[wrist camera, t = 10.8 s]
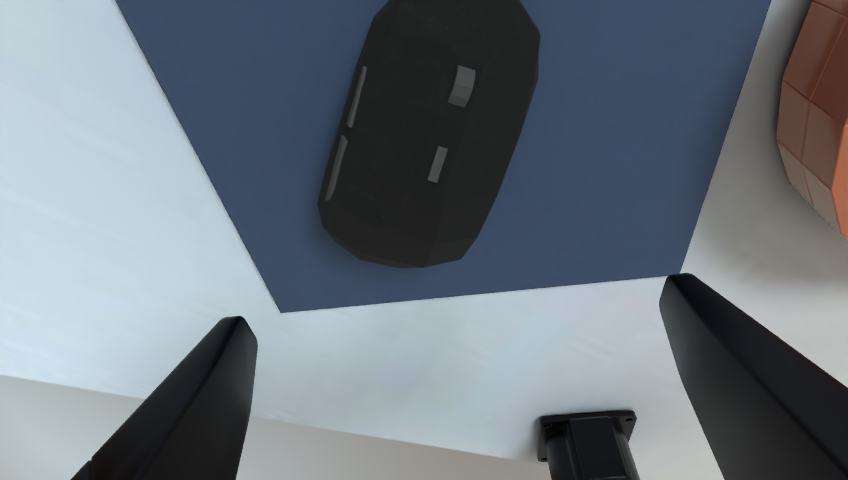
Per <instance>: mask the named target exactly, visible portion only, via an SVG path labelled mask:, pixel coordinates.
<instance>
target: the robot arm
mask: <svg viewBox="0 0 848 480" xmlns="http://www.w3.org/2000/svg"><path fill="white" fill-rule="evenodd" d="M659 307H660V312H661V316H662V319H663V322H664V326H665V329H666V332H667V336H668V339H669V342H670V345H671V349H672V352H673V355H674V359H675V362H676V365H677V368H678V372H679V375H680V378H681V380H682V383H683V385H684V388H685V390H686V392H687V395H688V397H689V399H690V401H691V404H692V406H693V408H694V411H695V413H696V415H697V417H698V420H699V422H700V424H701V427H702V429H703V431H704V434H705V436H706V438H707V440H708V443H709V445H710V447H711V450H712V452H713V454H714V456H715V459H716V461H717V463H718V466H719V468H720V470H721V472H722V475H723V477H724V479H725V480H848V388H847V387H846V386H844V385H843V384H842V383H840V382H839V381H838V380H836V379H835V378H833V377H832V376H831V375H829V374H828V373H827V372H825V371H824V370H822V369H821V368H820V367H818V366H817V365H816V364H814V363H813V362H812V361H810V360H809V359H807V358H806V357H805V356H803V355H802V354H801V353H799V352H798V351H796V350H795V349H794V348H792V347H791V346H790V345H788V344H787V343H786V342H784V341H783V340H781V339H780V338H779V337H777V336H776V335H775V334H773V333H772V332H770V331H769V330H768V329H766V328H765V327H764V326H762V325H761V324H760V323H758V322H757V321H755V320H754V319H753V318H751V317H750V316H749V315H747V314H746V313H744V312H743V311H742V310H740V309H739V308H738V307H736V306H735V305H734V304H732V303H731V302H729V301H728V300H727V299H725V298H724V297H723V296H721V295H720V294H719V293H717V292H716V291H714V290H713V289H712V288H710V287H709V286H708V285H706V284H705V283H703V282H702V281H701V280H699V279H698V278H697V277H695V276H694V275H692V274H689V273H682V274H672V275H669V276H668V277H667V279H666V281H665V284H664V288H663V291H662V294H661V297H660V301H659ZM257 349H258V344H257V339H256V337H255V335H254V333H253V332H252V330H251V328H250V327H249V325H248V324H247V322H246V320H245V319H244V318H243V317H241V316H233V317H225V318H223V319H221V320H220V321H219V322H218V323H217V324H216V325H215V326H214V327H213V328H212V329H211V330H210V332H209V333H208V334H207V335H206V336H205V337H204V338H203V339H202V340H201V341H200V342H199V343H198V344H197V345H196V346H195V348H194V349H193V350H192V351H191V352H190V353H189V354H188V355H187V356H186V357H185V358H184V359H183V360H182V361H181V362H180V364H179V365H178V366H177V367H176V368H175V369H174V370H173V371H172V372H171V373H170V374H169V375H168V376H167V377H166V379H165V380H164V381H163V382H162V383H161V384H160V385H159V386H158V387H157V388H156V389H155V390H154V391H153V392H152V393H151V395H150V396H149V397H148V398H147V399H146V400H145V401H144V402H143V403H142V404H141V405H140V406H139V407H138V408H137V409H136V411H135V412H134V413H133V414H132V415H131V416H130V417H129V418H128V419H127V420H126V421H125V423H123V424H122V426H121V427H120V428H119V429H118V430H117V431H116V432H115V433H114V434H113V435H112V436H111V437H110V438H109V439H108V440H107V442H106V443H105V444H104V445H103V446H102V447H101V448H100V449H99V450H98V451H97V452H96V453H95V454H94V456H93V457H92V459H91V461H88V462H87V463H86V464H85V465H84V466H83V467H82V468H81V469H80V470H79V471H78V472H77V473H76V474H75V476H74V477H73V478H72V479H71V480H236V475H237V471H238V466H239V462H240V457H241V453H242V449H243V444H244V440H245V435H246V431H247V426H248V422H249V416H250V411H251V404H252V395H253V386H254V377H255V367H256V358H257ZM636 419H637V418H636V415H635V412H634V411H615V412H602V413H589V414H575V415H562V416H549V417H543V418H541V419H540V420H539V432H538V447H537V457H538V461H540V462H548V464H549V469H550V474H551V478H552V480H640V478H639V475H638V472H637V469H636V466H635V463H634V460H633V457H632V454H631V451H630V448H629V445H628V442H629V439H630V436H631V434H632V431H633V428H634V425H635V422H636Z"/></svg>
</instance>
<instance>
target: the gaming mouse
mask: <svg viewBox="0 0 848 480" xmlns="http://www.w3.org/2000/svg"><path fill="white" fill-rule="evenodd" d="M540 38H541V36H540V33H539V30H538V28H537V26H536V25H535V24H534V22H533V20H532V19H531V17H530V16H529V14H528V13H527V11H526V9H525V8H524V6H523V5H522V3H521V2H520V0H389V1H388V2H387V3H386V4H385V5H384V6H383V8H382V9H381V10H380V11H379V12H378V13H377V14H376V15H375V16H374V18H373V20H372V23H371V26H370V29H369V31H368V34H367V37H366V40H365V43H364V46H363V49H362V51H361V54H360V57H359V60H358V63H357V66H356V69H355V72H354V76H353V79H352V83H351V86H350V90H349V93H348V97H347V100H346V104H345V108H344V111H343V115H342V118H341V121H340V124H339V127H338V129H337V132H336V135H335V138H334V141H333V144H332V147H331V151H330V154H329V158H328V162H327V166H326V170H325V173H324V177H323V181H322V185H321V190H320V194H319V198H318V202H317V205H318V209H319V214H320V218H321V222H322V226H323V228H324V229H325V230H326V232H327V233H328V234H329V235H330V236H331V237H332V239H333V240H334V241H335V242H336V243H338V244H339V245H340V246H342V247H343V248H344V249H346V250H347V251H349V252H350V253H351V254H353V255H354V256H355V257H357V258H358V259H360V260H364V261H369V262H373V263H377V264H382V265H386V266H391V267H395V268H425V267H430V266H434V265H439V264H443V263H447V262H452V261H456V260H460V259H462V258H463V256H464V255H465V254H466V252H467V251H468V249H469V248H470V247H471V245H472V244H473V243H474V241H475V240H476V239H477V237H478V235H479V233H480V231H481V229H482V227H483V225H484V223H485V221H486V219H487V216H488V214H489V212H490V210H491V208H492V206H493V204H494V202H495V200H496V198H497V195H498V193H499V190H500V187H501V185H502V182H503V179H504V177H505V174H506V171H507V169H508V166H509V164H510V161H511V158H512V156H513V153H514V150H515V148H516V145H517V142H518V140H519V137H520V134H521V132H522V129H523V126H524V122H525V119H526V116H527V113H528V110H529V107H530V103H531V100H532V97H533V94H534V91H535V88H536V84H537V81H538V78H539V45H540Z"/></svg>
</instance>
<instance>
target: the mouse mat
mask: <svg viewBox="0 0 848 480" xmlns="http://www.w3.org/2000/svg"><path fill="white" fill-rule="evenodd" d="M115 1H116V2H117V4H118V6H119V8H120V10H121V12H122V14H123V16H124V18H125V19H126V21H127V23H128V25H129V27H130V29H131V31H132V33H133V35H134V36H135V38H136V40H137V42H138V44H139V46H140V48H141V50H142V52H143V53H144V55H145V57H146V59H147V61H148V63H149V65H150V67H151V69H152V70H153V72H154V74H155V76H156V78H157V80H158V82H159V84H160V86H161V87H162V89H163V91H164V93H165V95H166V97H167V99H168V101H169V103H170V104H171V106H172V108H173V110H174V112H175V114H176V116H177V118H178V120H179V121H180V123H181V125H182V127H183V129H184V131H185V133H186V135H187V137H188V138H189V140H190V142H191V144H192V146H193V148H194V150H195V152H196V154H197V155H198V157H199V159H200V161H201V163H202V165H203V167H204V169H205V171H206V172H207V174H208V176H209V178H210V180H211V182H212V184H213V186H214V188H215V189H216V191H217V193H218V195H219V197H220V199H221V201H222V203H223V205H224V206H225V208H226V210H227V212H228V214H229V216H230V218H231V220H232V222H233V223H234V225H235V227H236V229H237V231H238V233H239V235H240V237H241V239H242V240H243V242H244V244H245V246H246V248H247V250H248V252H249V254H250V256H251V258H252V259H253V261H254V263H255V265H256V267H257V269H258V271H259V273H260V275H261V276H262V278H263V280H264V282H265V284H266V286H267V288H268V290H269V292H270V293H271V295H272V297H273V299H274V301H275V303H276V305H277V307H278V309H279V310H280V312H281V313H286V312H296V311H307V310H317V309H327V308H338V307H348V306H359V305H369V304H379V303H390V302H400V301H411V300H421V299H431V298H442V297H452V296H463V295H473V294H483V293H494V292H504V291H515V290H525V289H535V288H546V287H556V286H567V285H577V284H587V283H598V282H608V281H619V280H629V279H639V278H650V277H660V276H669V275H672V274H680V271H681V268H682V265H683V262H684V259H685V256H686V253H687V250H688V247H689V244H690V241H691V238H692V235H693V232H694V229H695V226H696V223H697V220H698V217H699V214H700V211H701V208H702V205H703V202H704V199H705V196H706V193H707V190H708V187H709V184H710V181H711V178H712V175H713V172H714V169H715V166H716V163H717V160H718V157H719V154H720V151H721V148H722V145H723V142H724V139H725V137H726V134H727V131H728V128H729V125H730V122H731V119H732V116H733V113H734V110H735V107H736V104H737V101H738V98H739V95H740V92H741V89H742V86H743V83H744V80H745V77H746V74H747V71H748V68H749V65H750V62H751V59H752V56H753V53H754V50H755V47H756V44H757V41H758V38H759V35H760V32H761V29H762V26H763V23H764V20H765V17H766V14H767V11H768V8H769V5H770V2H771V0H520V2H521V3H522V5H523V6H524V8H525V9H526V11H527V13H528V14H529V16H530V17H531V19H532V20H533V22H534V24H535V25H536V26H537V28H538V30H539V33H540V36H541V38H540V45H539V78H538V81H537V84H536V88H535V91H534V94H533V97H532V100H531V103H530V107H529V110H528V113H527V116H526V119H525V122H524V126H523V129H522V132H521V134H520V137H519V140H518V142H517V145H516V148H515V150H514V153H513V156H512V158H511V161H510V164H509V166H508V169H507V171H506V174H505V177H504V179H503V182H502V185H501V187H500V190H499V193H498V195H497V198H496V200H495V202H494V204H493V206H492V208H491V210H490V212H489V214H488V216H487V219H486V221H485V223H484V225H483V227H482V229H481V231H480V233H479V235H478V237H477V239H476V240H475V241H474V243H473V244H472V245H471V247H470V248H469V249H468V251H467V252H466V254H465V255H464V256H463V258H462V259H460V260H456V261H452V262H447V263H443V264H439V265H434V266H430V267H425V268H395V267H391V266H386V265H382V264H377V263H373V262H369V261H364V260H360V259H358V258H357V257H355V256H354V255H353V254H351V253H350V252H349V251H347V250H346V249H344V248H343V247H342V246H340V245H339V244H338V243H336V242H335V241H334V240H333V239H332V237H331V236H330V235H329V234H328V233H327V232H326V230H325V229H324V228H323V226H322V222H321V218H320V214H319V209H318V205H317V202H318V198H319V194H320V190H321V185H322V181H323V177H324V173H325V170H326V166H327V162H328V158H329V154H330V151H331V147H332V144H333V141H334V138H335V135H336V132H337V129H338V127H339V124H340V121H341V118H342V115H343V111H344V108H345V104H346V100H347V97H348V93H349V90H350V86H351V83H352V79H353V76H354V72H355V69H356V66H357V63H358V60H359V57H360V54H361V51H362V49H363V46H364V43H365V40H366V37H367V34H368V31H369V29H370V26H371V23H372V20H373V18H374V16H375V15H376V14H377V13H378V12H379V11H380V10H381V9H382V8H383V6H384V5H385V4H386V3H387V2H388V1H389V0H115Z"/></svg>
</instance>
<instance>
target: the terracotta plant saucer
mask: <svg viewBox="0 0 848 480" xmlns="http://www.w3.org/2000/svg"><path fill="white" fill-rule="evenodd" d="M777 144H778V147H779V150H780V154H781V157H782V160H783V164H784V167H785V170H786V174H787V177H788V180H789V183H790V184H791V185H792V186H793V187H794V188H795V189H796V190H797V191H798V193H799V194H800V195H801V196H802V197H803V198H804V199H805V200H806V201H807V202H808V203H809V204H810V205H811V206H812V207H813V208H814V209H815V210H816V211H817V212H818V213H819V214H820V215H821V216H822V217H823V218H824V219H825V220H826V221H827V222H828V223H829V224H830V225H831V226H832V228H833V229H834V230H835V231H836V232H837V233H838V234H839V235H840V236H841V237H842V238H843V239H844V240H845V241H846V242H847V243H848V0H815V1H813V2H812V3H811V6H810V8H809V11H808V13H807V16H806V18H805V21H804V24H803V26H802V29H801V31H800V34H799V36H798V39H797V42H796V44H795V47H794V49H793V52H792V54H791V57H790V59H789V62H788V65H787V67H786V70H785V72H784V75H783V81H782V88H781V98H780V108H779V118H778V128H777Z"/></svg>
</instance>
